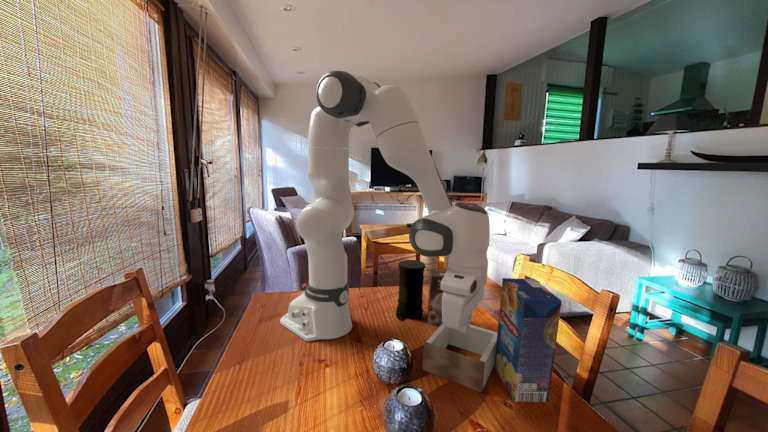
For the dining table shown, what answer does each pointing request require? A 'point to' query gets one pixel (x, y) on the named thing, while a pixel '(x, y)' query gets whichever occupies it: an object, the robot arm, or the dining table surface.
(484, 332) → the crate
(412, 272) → the container
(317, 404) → the dining table surface
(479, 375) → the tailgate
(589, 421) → the dining table surface
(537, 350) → the juice carton
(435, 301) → the coffee box
